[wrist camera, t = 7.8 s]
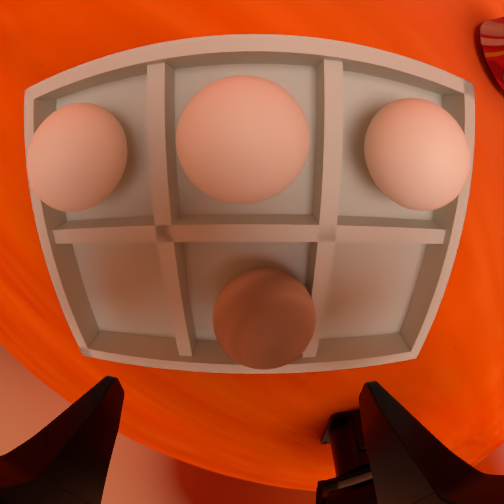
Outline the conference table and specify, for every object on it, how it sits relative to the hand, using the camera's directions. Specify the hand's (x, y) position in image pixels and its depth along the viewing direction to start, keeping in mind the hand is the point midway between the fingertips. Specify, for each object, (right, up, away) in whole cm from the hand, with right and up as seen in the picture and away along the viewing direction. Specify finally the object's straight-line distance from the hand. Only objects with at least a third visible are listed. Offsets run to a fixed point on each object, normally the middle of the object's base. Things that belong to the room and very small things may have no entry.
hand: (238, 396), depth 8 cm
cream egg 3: (+7, +10, +3) cm, 13 cm away
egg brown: (0, +3, +6) cm, 7 cm away
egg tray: (0, +7, +6) cm, 9 cm away
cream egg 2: (0, +10, +3) cm, 10 cm away
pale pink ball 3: (-7, +10, +3) cm, 13 cm away
